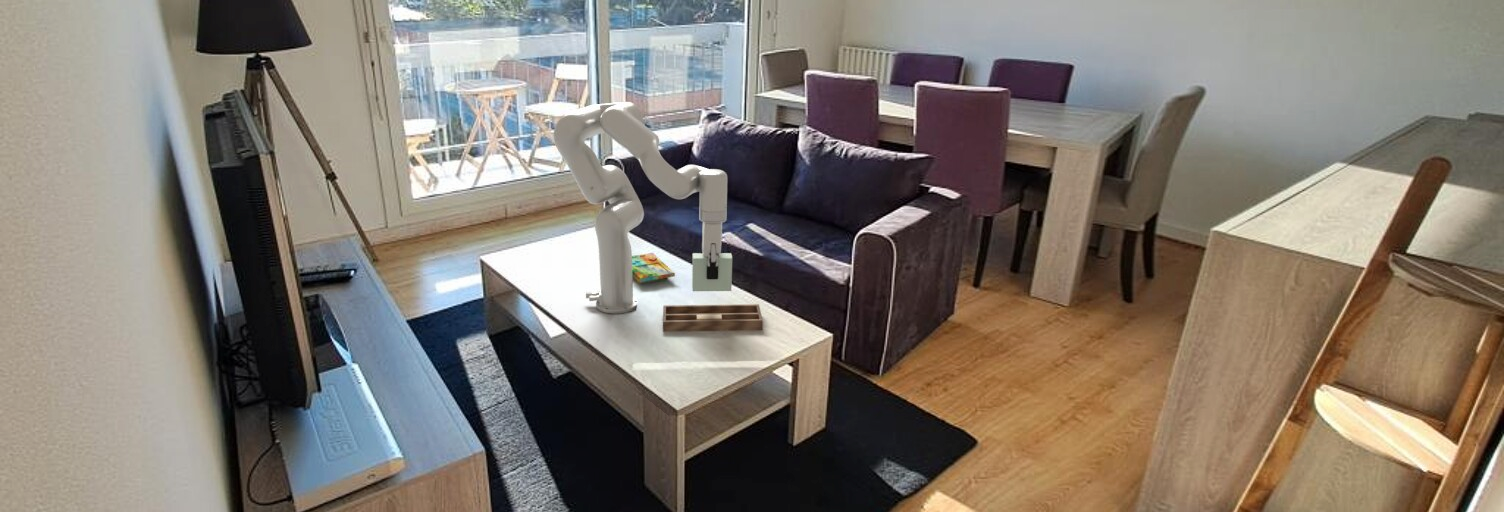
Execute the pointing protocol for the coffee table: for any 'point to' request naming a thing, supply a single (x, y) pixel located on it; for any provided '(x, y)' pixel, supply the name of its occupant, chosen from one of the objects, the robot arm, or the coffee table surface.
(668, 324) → the tray
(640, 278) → the puzzle game
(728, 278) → the pale green block
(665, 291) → the coffee table surface
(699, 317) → the offcut upper
